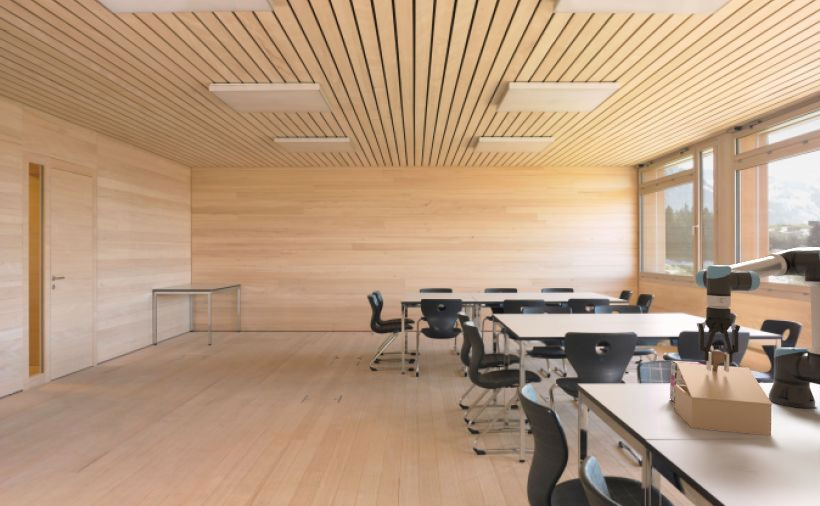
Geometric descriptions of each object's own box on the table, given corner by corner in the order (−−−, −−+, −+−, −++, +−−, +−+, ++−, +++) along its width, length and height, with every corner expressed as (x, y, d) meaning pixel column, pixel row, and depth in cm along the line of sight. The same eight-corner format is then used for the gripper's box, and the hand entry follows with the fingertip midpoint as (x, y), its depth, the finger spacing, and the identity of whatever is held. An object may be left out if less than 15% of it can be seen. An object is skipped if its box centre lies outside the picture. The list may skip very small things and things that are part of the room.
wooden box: (745, 416, 180) (745, 390, 180) (771, 435, 160) (771, 405, 160) (674, 410, 185) (675, 384, 186) (691, 427, 166) (691, 399, 166)
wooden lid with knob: (747, 369, 178) (752, 348, 174) (771, 405, 160) (777, 383, 157) (676, 364, 184) (679, 344, 180) (691, 398, 166) (695, 377, 163)
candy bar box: (674, 403, 195) (675, 363, 195) (669, 399, 200) (670, 360, 200) (703, 404, 194) (704, 364, 194) (697, 401, 199) (698, 361, 199)
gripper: (694, 307, 174) (693, 371, 174) (751, 309, 169) (750, 374, 169) (687, 305, 181) (687, 366, 181) (742, 307, 177) (741, 370, 177)
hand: (717, 370), depth 175 cm, fingers closed on wooden lid with knob, 5 cm apart
